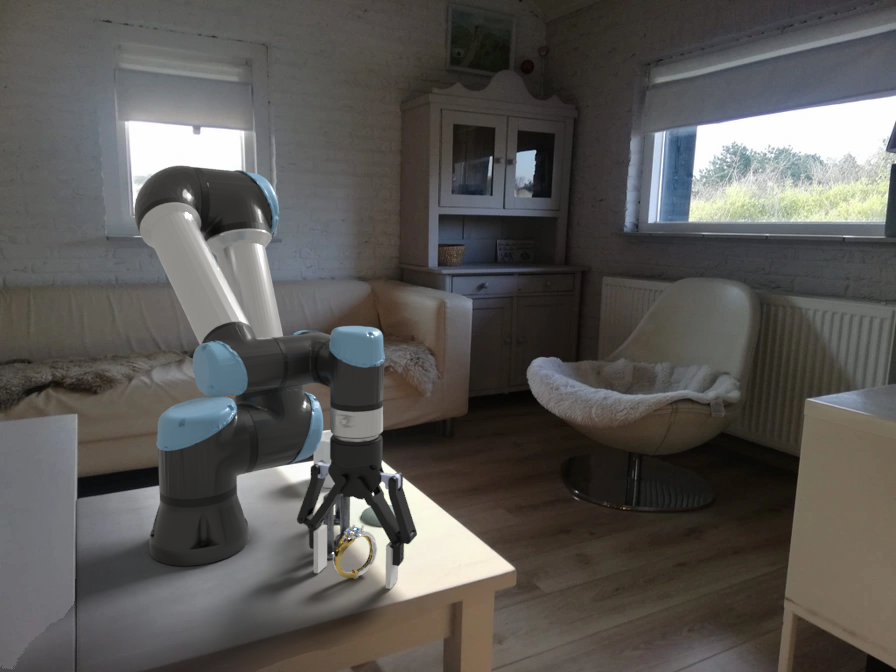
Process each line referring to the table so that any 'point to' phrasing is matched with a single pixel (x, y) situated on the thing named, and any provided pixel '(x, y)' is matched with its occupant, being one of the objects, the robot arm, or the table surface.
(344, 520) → the bent grey rail
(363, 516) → the felt coaster
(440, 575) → the table surface
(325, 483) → the mug
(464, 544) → the table surface
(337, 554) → the ring
